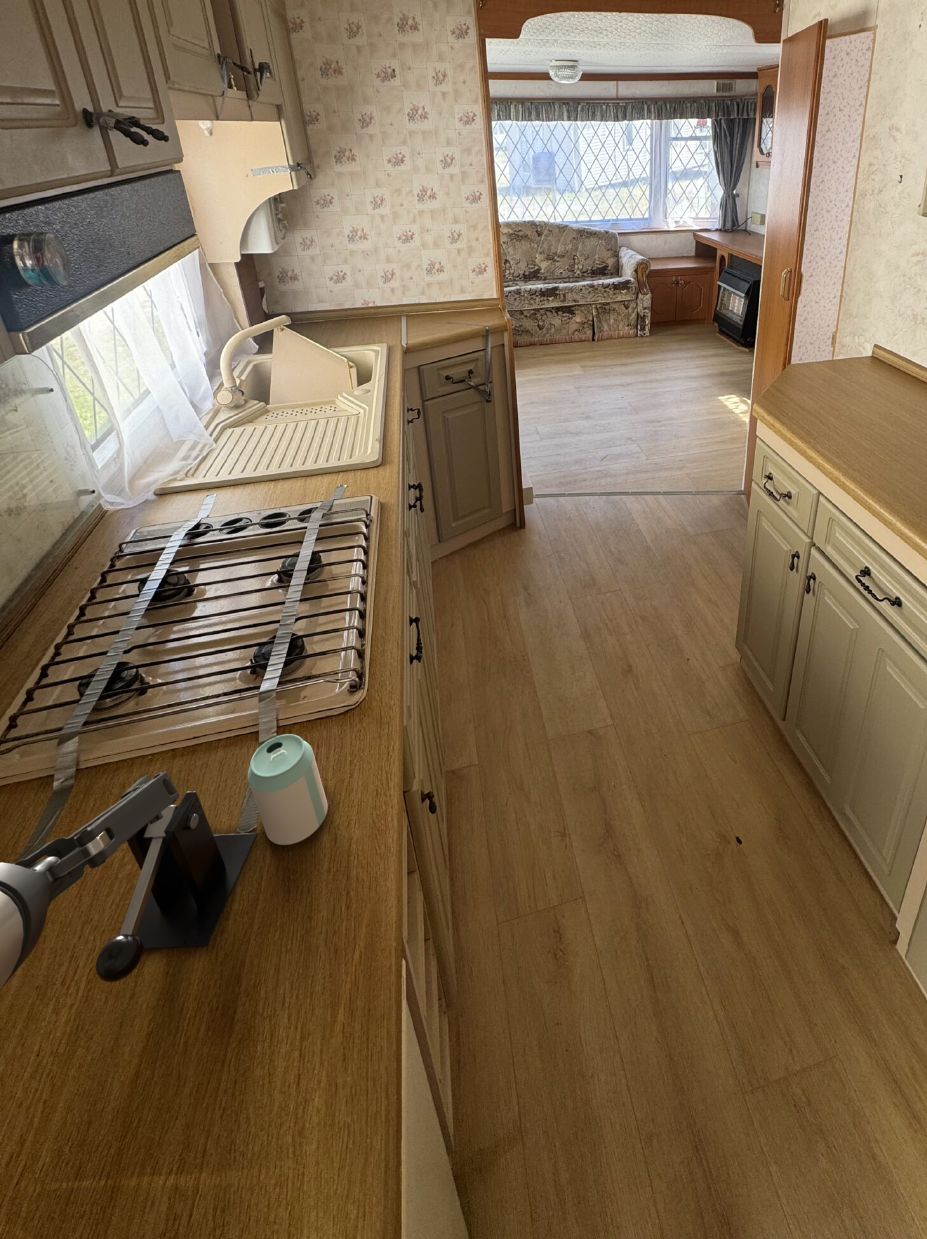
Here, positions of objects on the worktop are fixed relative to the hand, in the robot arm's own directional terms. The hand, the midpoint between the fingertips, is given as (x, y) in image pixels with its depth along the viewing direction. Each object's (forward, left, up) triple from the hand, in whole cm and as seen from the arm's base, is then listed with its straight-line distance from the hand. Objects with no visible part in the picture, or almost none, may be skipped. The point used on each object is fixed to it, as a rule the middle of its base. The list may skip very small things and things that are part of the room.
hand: (65, 843), depth 58 cm
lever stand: (-1, +8, -21) cm, 23 cm away
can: (+4, +18, -22) cm, 29 cm away
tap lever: (0, +4, -13) cm, 14 cm away
